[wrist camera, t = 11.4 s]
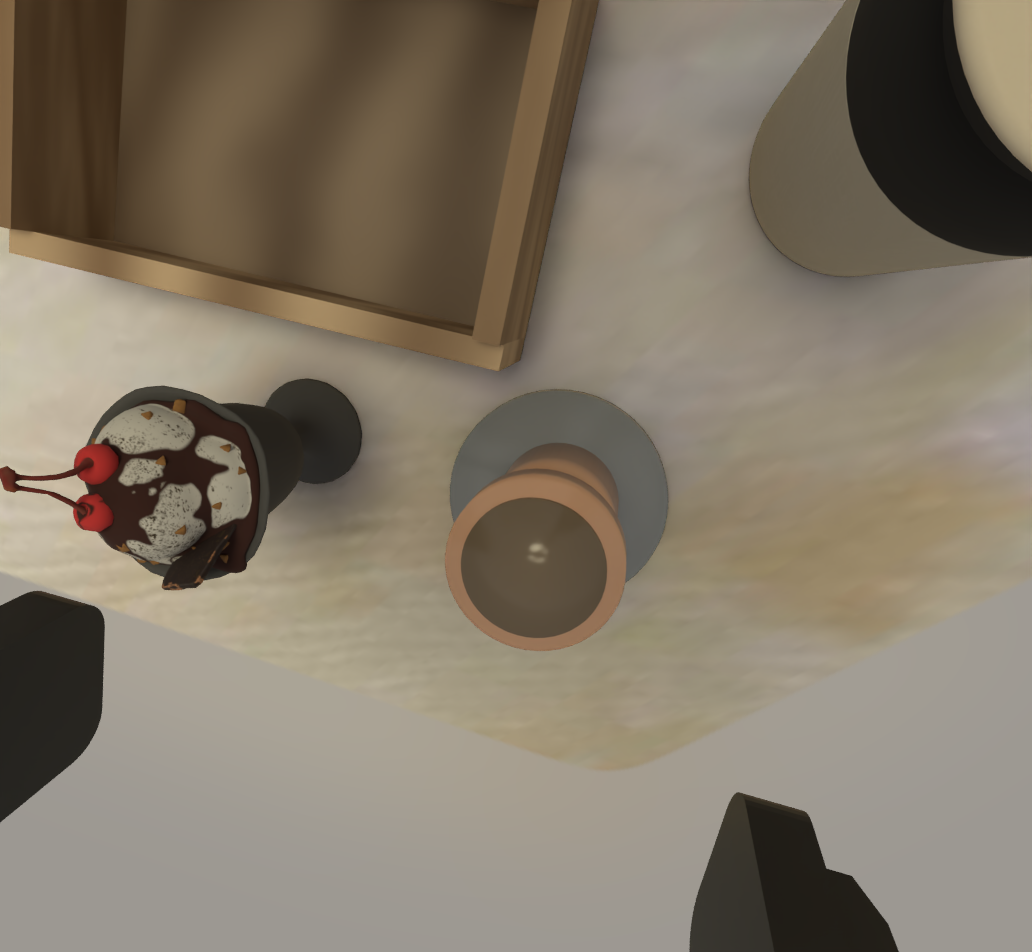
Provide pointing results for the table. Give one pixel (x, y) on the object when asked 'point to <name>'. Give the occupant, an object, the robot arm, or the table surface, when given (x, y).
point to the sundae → (203, 473)
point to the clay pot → (540, 550)
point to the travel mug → (903, 140)
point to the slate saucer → (579, 425)
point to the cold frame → (299, 155)
